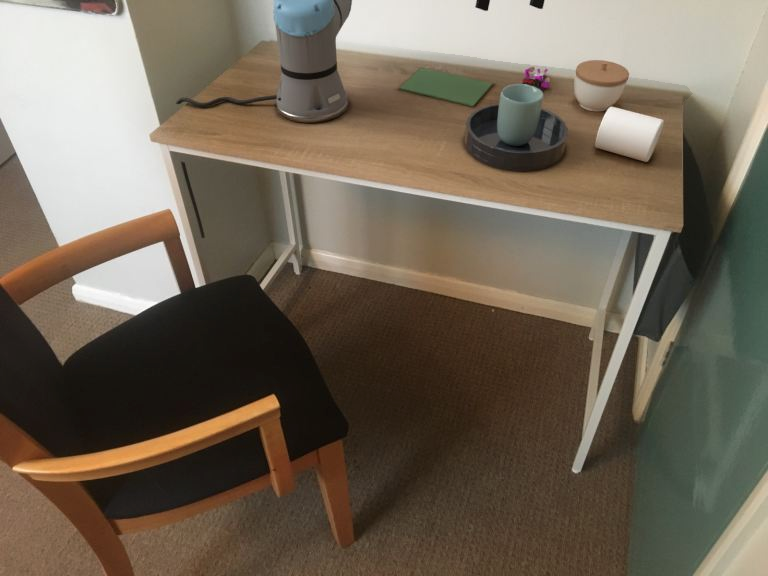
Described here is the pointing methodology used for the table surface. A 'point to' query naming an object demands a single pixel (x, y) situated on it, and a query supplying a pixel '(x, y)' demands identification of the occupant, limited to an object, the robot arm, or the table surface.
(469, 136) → the shallow round tray
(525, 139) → the cup
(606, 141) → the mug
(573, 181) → the table surface
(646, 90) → the table surface
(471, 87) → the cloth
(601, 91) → the trinket box
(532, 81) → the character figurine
